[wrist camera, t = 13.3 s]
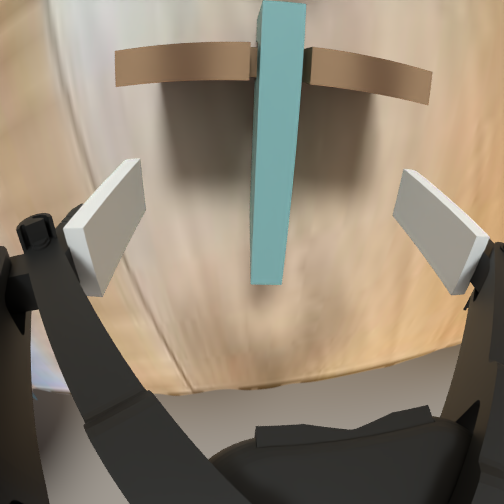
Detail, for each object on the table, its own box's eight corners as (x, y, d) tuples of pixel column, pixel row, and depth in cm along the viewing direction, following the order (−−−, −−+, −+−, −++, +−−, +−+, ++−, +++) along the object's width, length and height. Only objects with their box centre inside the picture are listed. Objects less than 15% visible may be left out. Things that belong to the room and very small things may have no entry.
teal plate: (257, 19, 22) (262, 0, 13) (284, 21, 22) (306, 4, 13) (249, 215, 34) (250, 284, 25) (272, 215, 34) (281, 284, 25)
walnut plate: (160, 76, 26) (115, 87, 16) (159, 53, 24) (114, 51, 15) (371, 87, 26) (428, 105, 17) (373, 64, 25) (432, 72, 16)
